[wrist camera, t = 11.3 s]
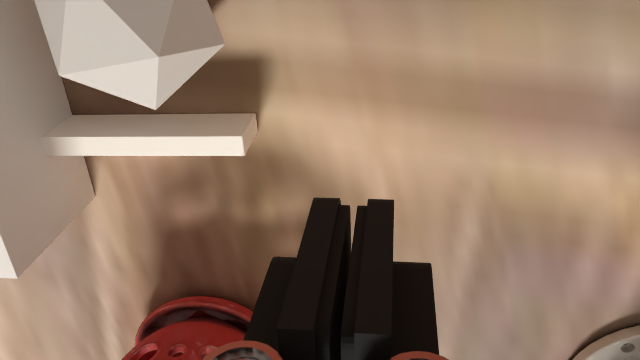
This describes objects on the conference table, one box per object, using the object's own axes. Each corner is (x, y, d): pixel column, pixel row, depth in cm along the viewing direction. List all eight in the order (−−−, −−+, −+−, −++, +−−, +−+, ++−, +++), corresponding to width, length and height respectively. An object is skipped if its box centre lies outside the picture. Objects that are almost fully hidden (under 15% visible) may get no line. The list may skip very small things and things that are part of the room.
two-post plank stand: (206, -313, 24) (116, -408, 16) (265, 198, 36) (230, 285, 29) (-65, -283, 26) (-264, -355, 18) (79, 196, 38) (-3, 277, 30)
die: (106, -113, 29) (-48, -15, 25) (223, -110, 25) (61, 11, 20) (171, 19, 35) (57, 118, 31) (275, 41, 31) (158, 160, 26)
